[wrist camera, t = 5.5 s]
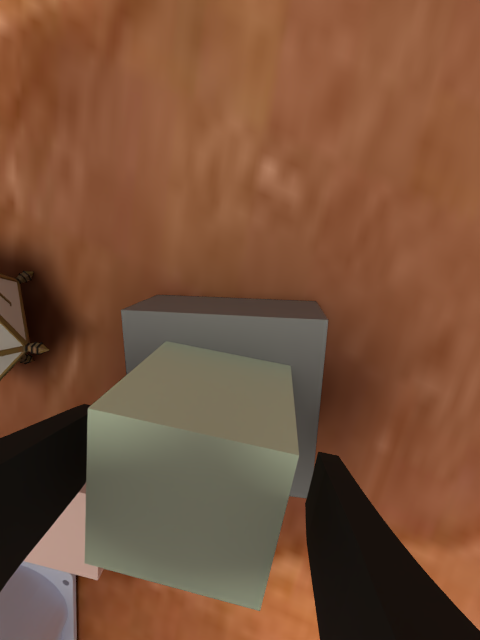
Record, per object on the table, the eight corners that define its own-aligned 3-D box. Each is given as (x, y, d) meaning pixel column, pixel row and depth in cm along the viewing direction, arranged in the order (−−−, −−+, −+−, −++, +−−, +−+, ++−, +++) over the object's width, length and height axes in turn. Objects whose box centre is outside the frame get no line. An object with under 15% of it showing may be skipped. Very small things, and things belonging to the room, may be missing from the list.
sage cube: (267, 471, 13) (260, 610, 8) (156, 445, 13) (84, 563, 8) (290, 365, 11) (299, 455, 6) (166, 341, 12) (87, 408, 7)
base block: (303, 439, 17) (310, 498, 13) (166, 426, 17) (135, 477, 14) (315, 300, 15) (328, 320, 11) (160, 293, 15) (121, 310, 12)
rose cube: (144, 493, 19) (97, 580, 14) (70, 476, 19) (1, 555, 14) (148, 426, 17) (99, 496, 13) (70, 410, 18) (-8, 471, 13)
